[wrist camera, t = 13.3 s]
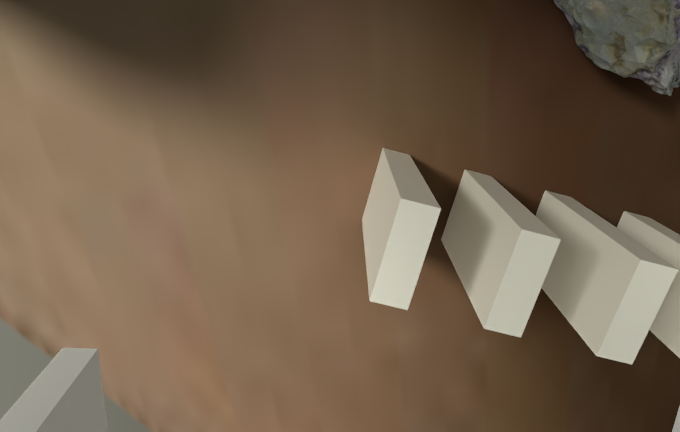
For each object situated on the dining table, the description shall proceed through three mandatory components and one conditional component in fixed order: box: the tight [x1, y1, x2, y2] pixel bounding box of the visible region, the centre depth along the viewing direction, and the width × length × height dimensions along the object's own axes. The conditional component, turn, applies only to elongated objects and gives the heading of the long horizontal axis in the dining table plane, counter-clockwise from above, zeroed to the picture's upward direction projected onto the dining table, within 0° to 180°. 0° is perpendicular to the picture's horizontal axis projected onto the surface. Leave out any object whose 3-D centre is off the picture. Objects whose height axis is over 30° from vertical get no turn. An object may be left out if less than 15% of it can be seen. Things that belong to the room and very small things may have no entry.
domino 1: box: [362, 148, 441, 310], centre depth 30 cm, size 2×5×12 cm, turn 165°
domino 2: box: [441, 169, 561, 338], centre depth 30 cm, size 2×5×12 cm, turn 166°
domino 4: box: [617, 211, 680, 358], centre depth 31 cm, size 2×5×12 cm, turn 165°
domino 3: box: [535, 190, 679, 365], centre depth 30 cm, size 2×5×12 cm, turn 165°
